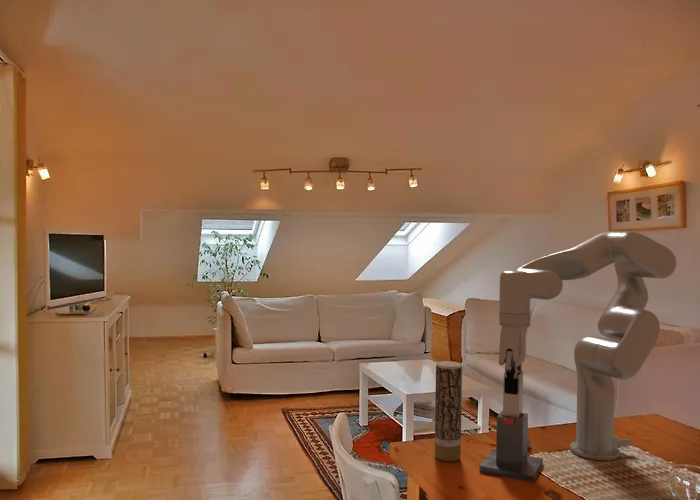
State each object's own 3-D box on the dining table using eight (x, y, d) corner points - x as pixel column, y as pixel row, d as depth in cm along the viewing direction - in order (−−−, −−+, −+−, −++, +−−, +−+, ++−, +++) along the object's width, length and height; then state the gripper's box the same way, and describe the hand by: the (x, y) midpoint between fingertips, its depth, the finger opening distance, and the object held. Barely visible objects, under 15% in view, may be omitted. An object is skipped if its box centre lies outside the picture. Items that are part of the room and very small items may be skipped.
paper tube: (460, 463, 150) (462, 367, 150) (433, 461, 152) (435, 366, 151) (460, 454, 157) (462, 361, 156) (435, 452, 158) (436, 360, 158)
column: (505, 438, 151) (507, 369, 150) (522, 441, 149) (523, 371, 148) (501, 443, 147) (503, 373, 147) (518, 446, 145) (520, 375, 145)
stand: (492, 454, 157) (493, 404, 157) (542, 464, 151) (543, 412, 150) (479, 471, 145) (480, 418, 145) (533, 482, 139) (534, 426, 139)
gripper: (507, 314, 156) (505, 382, 157) (491, 322, 141) (489, 397, 142) (535, 316, 153) (534, 386, 153) (522, 325, 138) (521, 401, 138)
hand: (513, 390), depth 148 cm, fingers closed on column, 4 cm apart
